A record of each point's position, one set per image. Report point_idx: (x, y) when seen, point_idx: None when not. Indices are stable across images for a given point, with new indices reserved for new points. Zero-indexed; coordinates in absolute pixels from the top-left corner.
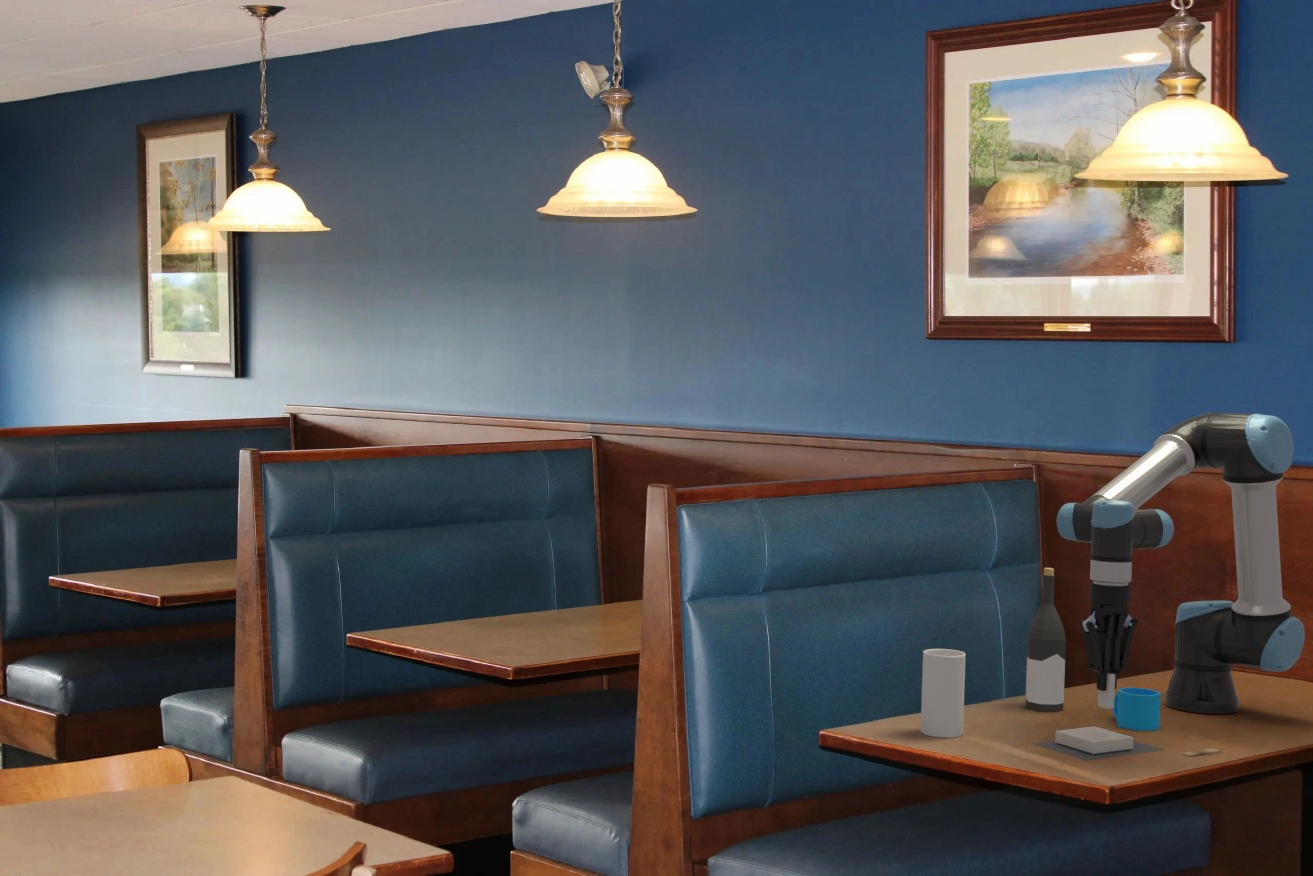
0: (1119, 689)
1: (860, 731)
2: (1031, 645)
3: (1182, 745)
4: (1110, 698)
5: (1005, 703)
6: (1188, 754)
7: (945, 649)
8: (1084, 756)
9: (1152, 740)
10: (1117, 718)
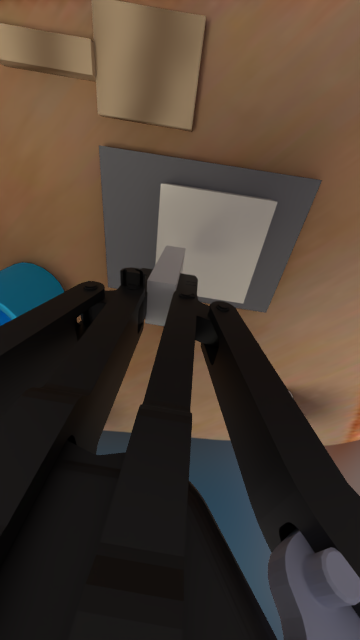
0: None
1: (325, 435)
2: None
3: (14, 191)
4: (176, 255)
5: None
6: (89, 47)
7: None
8: (290, 204)
9: (46, 246)
10: None
